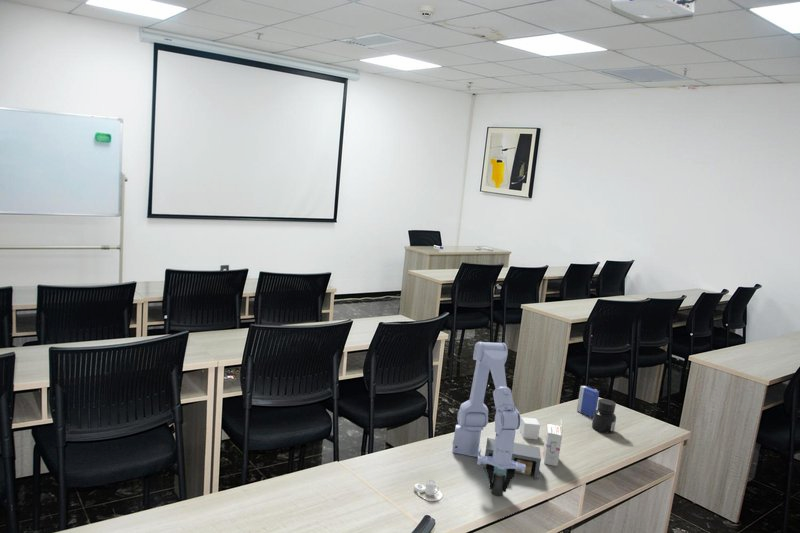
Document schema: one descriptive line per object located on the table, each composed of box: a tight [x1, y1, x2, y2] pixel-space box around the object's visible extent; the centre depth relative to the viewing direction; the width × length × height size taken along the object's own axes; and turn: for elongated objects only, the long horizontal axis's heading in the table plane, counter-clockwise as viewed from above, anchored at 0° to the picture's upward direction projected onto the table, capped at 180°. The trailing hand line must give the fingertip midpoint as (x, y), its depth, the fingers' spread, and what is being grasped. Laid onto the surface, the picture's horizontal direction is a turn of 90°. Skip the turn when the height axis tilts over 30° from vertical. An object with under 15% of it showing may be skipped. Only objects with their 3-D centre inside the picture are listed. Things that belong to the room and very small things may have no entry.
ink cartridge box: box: [542, 419, 563, 467], centre depth 208 cm, size 9×5×15 cm, turn 168°
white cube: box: [518, 416, 541, 440], centre depth 229 cm, size 6×6×6 cm
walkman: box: [576, 385, 600, 418], centre depth 258 cm, size 8×3×12 cm, turn 39°
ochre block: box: [515, 458, 533, 476], centre depth 199 cm, size 5×5×4 cm
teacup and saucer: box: [413, 479, 443, 502], centre depth 177 cm, size 9×8×4 cm
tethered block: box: [490, 466, 507, 497], centre depth 187 cm, size 5×16×6 cm, turn 167°
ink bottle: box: [591, 398, 617, 434], centre depth 242 cm, size 10×9×12 cm
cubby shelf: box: [483, 437, 542, 480], centre depth 199 cm, size 18×9×7 cm, turn 79°
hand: (497, 489), depth 181 cm, fingers closed on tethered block, 4 cm apart
